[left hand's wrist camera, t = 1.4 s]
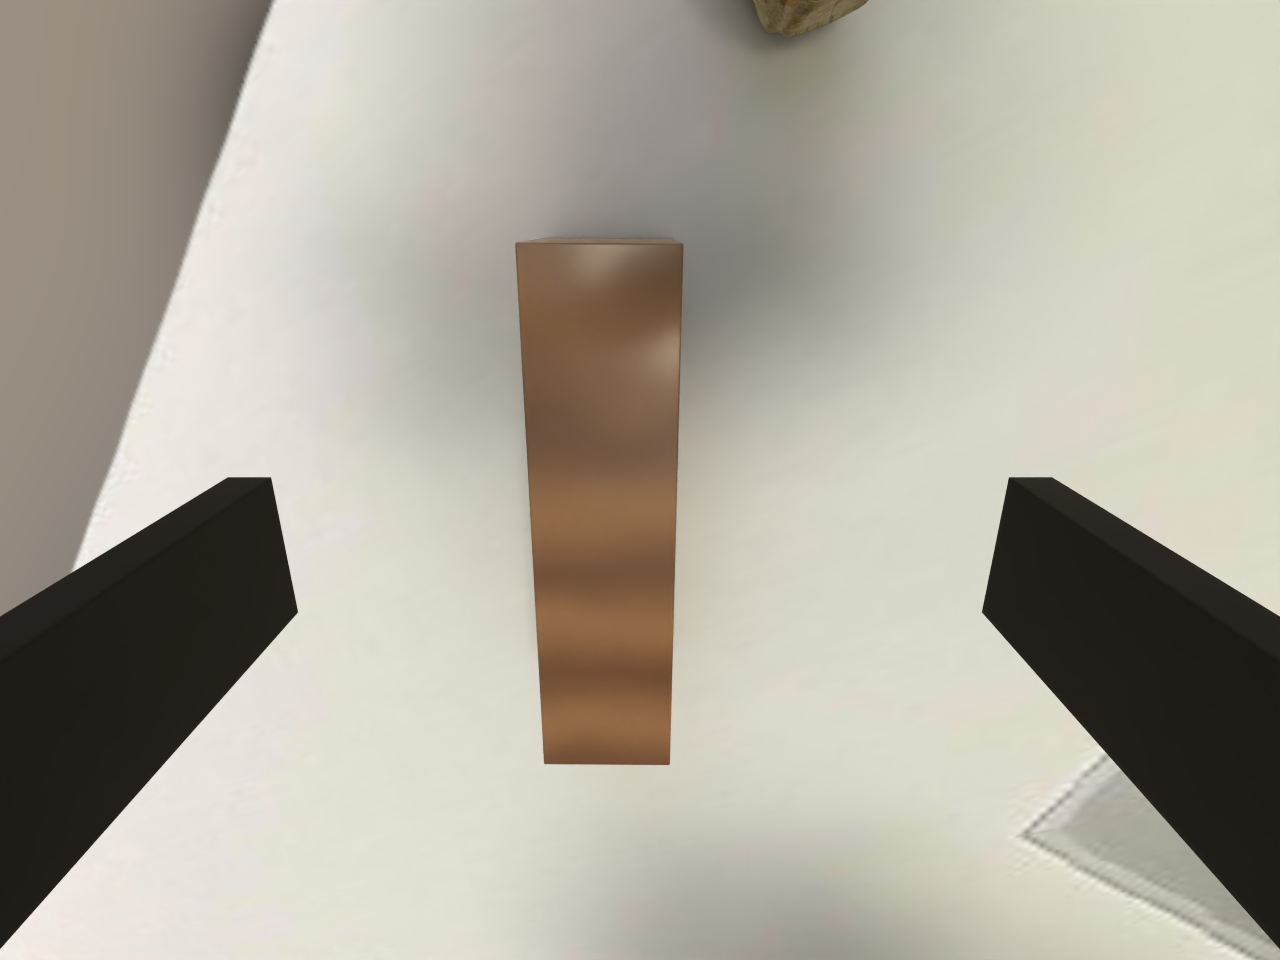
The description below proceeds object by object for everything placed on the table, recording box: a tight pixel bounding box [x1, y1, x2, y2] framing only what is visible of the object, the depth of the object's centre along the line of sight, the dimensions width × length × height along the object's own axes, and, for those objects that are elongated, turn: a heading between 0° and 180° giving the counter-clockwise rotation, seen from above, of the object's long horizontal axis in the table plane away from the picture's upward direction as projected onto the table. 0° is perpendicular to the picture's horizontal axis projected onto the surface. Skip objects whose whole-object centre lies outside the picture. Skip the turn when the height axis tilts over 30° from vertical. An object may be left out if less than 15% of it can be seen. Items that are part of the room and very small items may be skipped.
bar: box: [515, 238, 683, 765], centre depth 30 cm, size 22×6×8 cm, turn 0°
